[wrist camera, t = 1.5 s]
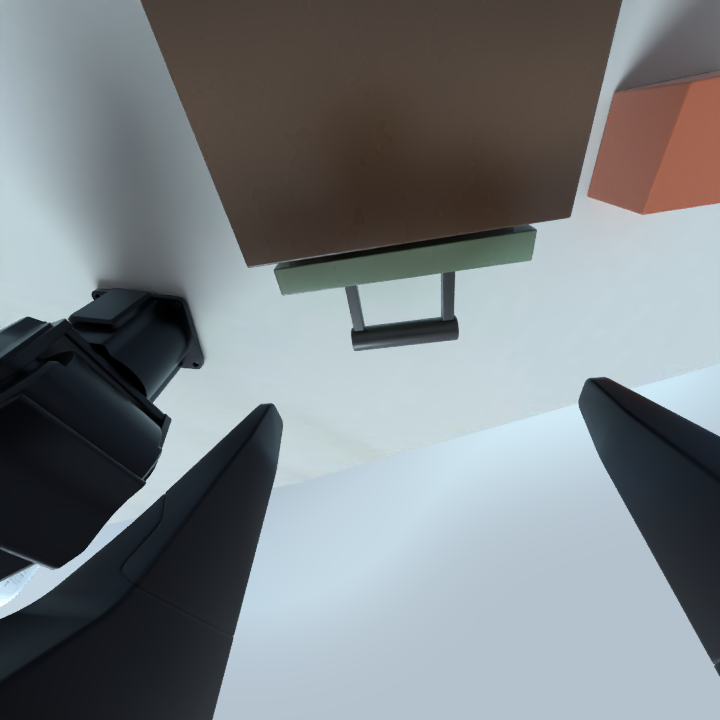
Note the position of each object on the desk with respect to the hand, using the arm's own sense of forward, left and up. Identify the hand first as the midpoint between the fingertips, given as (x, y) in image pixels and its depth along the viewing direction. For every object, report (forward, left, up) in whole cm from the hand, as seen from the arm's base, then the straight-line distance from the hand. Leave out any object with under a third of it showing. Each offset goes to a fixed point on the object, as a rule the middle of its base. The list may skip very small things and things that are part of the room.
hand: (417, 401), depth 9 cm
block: (+7, -12, -13) cm, 19 cm away
